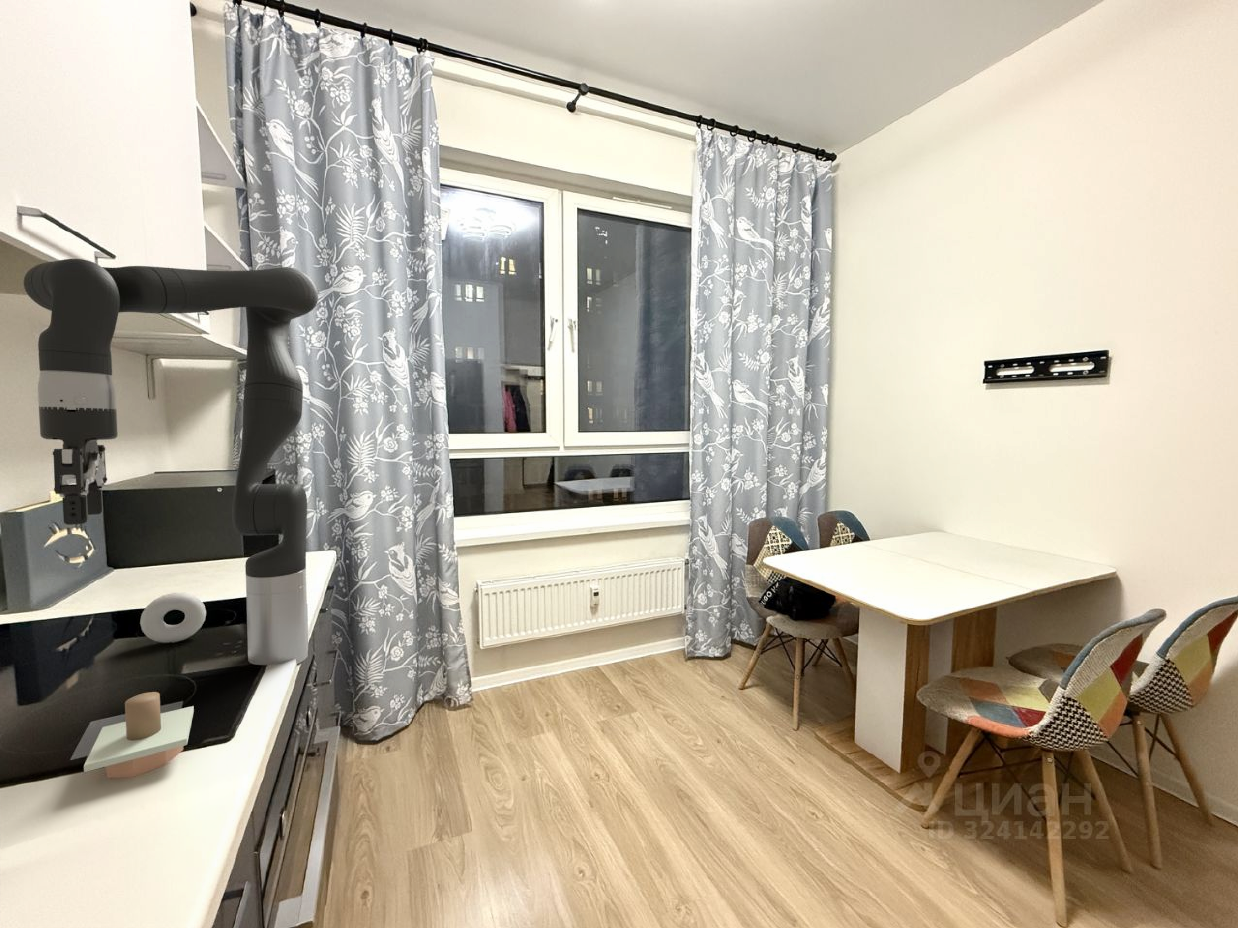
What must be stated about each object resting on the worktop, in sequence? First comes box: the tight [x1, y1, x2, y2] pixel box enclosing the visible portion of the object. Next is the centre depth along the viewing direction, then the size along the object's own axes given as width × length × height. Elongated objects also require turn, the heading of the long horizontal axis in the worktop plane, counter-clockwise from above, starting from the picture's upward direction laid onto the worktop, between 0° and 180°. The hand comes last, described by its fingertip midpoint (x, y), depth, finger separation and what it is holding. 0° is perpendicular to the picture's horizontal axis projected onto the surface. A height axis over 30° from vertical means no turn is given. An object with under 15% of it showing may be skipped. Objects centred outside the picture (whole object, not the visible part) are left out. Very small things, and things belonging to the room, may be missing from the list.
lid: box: [83, 691, 195, 773], centre depth 64 cm, size 9×9×5 cm
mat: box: [69, 700, 184, 761], centre depth 71 cm, size 10×10×2 cm
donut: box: [139, 592, 207, 644], centre depth 101 cm, size 10×4×10 cm, turn 126°
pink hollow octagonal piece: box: [104, 746, 184, 779], centre depth 64 cm, size 7×7×4 cm
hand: (84, 518), depth 73 cm, fingers open, 8 cm apart
